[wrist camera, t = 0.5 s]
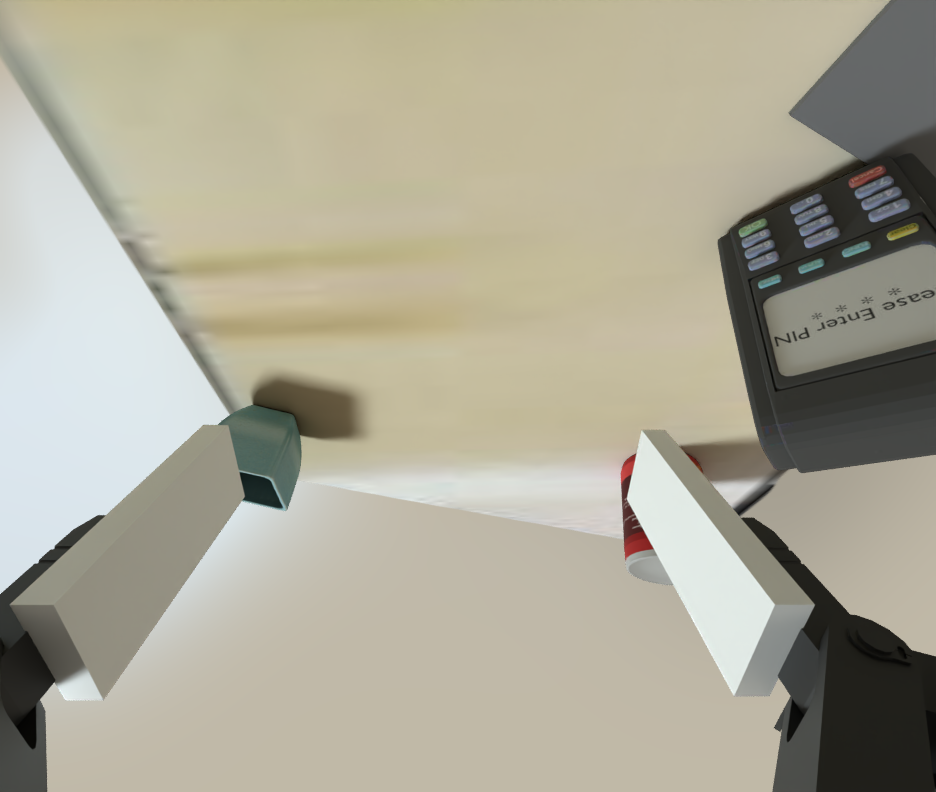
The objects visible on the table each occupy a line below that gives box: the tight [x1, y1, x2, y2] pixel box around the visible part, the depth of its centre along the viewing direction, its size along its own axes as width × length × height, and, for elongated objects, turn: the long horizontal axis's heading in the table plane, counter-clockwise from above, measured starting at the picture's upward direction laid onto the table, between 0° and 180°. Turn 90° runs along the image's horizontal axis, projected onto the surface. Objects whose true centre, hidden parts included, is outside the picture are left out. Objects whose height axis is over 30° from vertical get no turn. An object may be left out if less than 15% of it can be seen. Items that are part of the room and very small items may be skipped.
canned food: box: [621, 454, 703, 585], centre depth 44 cm, size 8×8×11 cm
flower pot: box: [218, 405, 301, 511], centre depth 50 cm, size 9×9×9 cm
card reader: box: [718, 153, 936, 473], centre depth 20 cm, size 9×4×15 cm, turn 131°
